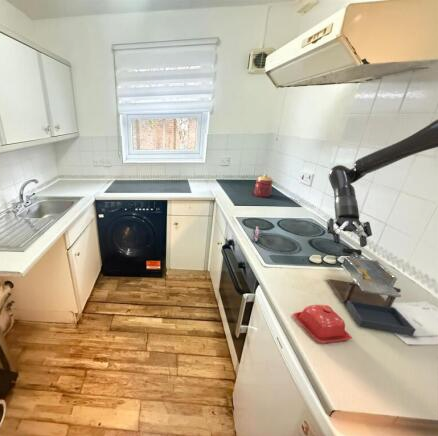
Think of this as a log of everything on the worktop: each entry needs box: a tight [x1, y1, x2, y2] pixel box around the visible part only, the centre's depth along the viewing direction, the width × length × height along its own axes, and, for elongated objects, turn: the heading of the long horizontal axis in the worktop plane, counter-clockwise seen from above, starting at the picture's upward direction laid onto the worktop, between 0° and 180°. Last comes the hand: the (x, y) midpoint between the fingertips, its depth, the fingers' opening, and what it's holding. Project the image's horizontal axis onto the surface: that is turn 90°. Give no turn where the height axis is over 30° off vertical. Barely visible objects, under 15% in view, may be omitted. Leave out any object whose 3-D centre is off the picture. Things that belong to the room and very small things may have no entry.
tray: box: [345, 300, 416, 337], centre depth 76 cm, size 13×9×2 cm
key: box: [359, 269, 371, 280], centre depth 84 cm, size 6×3×1 cm, turn 164°
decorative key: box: [253, 225, 260, 243], centre depth 130 cm, size 7×1×20 cm
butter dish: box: [292, 304, 353, 344], centre depth 71 cm, size 12×12×8 cm
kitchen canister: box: [253, 174, 274, 198], centre depth 197 cm, size 13×13×18 cm
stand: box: [327, 278, 402, 307], centre depth 85 cm, size 13×14×9 cm
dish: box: [341, 247, 402, 298], centre depth 84 cm, size 22×10×5 cm, turn 164°
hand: (350, 245), depth 94 cm, fingers open, 8 cm apart
